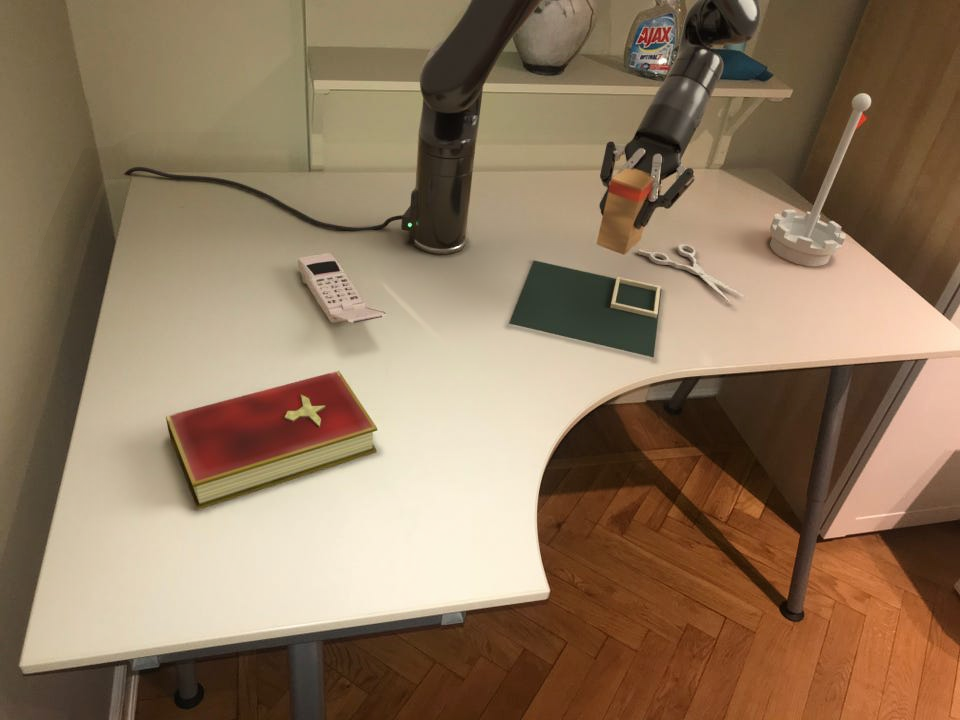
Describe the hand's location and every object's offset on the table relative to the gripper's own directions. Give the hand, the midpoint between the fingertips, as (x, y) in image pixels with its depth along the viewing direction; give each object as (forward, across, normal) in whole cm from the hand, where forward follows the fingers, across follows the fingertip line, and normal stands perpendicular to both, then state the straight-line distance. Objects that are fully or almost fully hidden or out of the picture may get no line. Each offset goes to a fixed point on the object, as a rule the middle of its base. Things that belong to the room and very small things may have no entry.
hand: (620, 220), depth 109 cm
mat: (+11, -2, +13) cm, 17 cm away
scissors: (-5, +8, +29) cm, 31 cm away
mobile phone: (+29, -32, -5) cm, 44 cm away
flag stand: (-21, +20, +46) cm, 54 cm away
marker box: (+2, 0, +4) cm, 5 cm away
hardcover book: (+48, -18, -24) cm, 57 cm away
